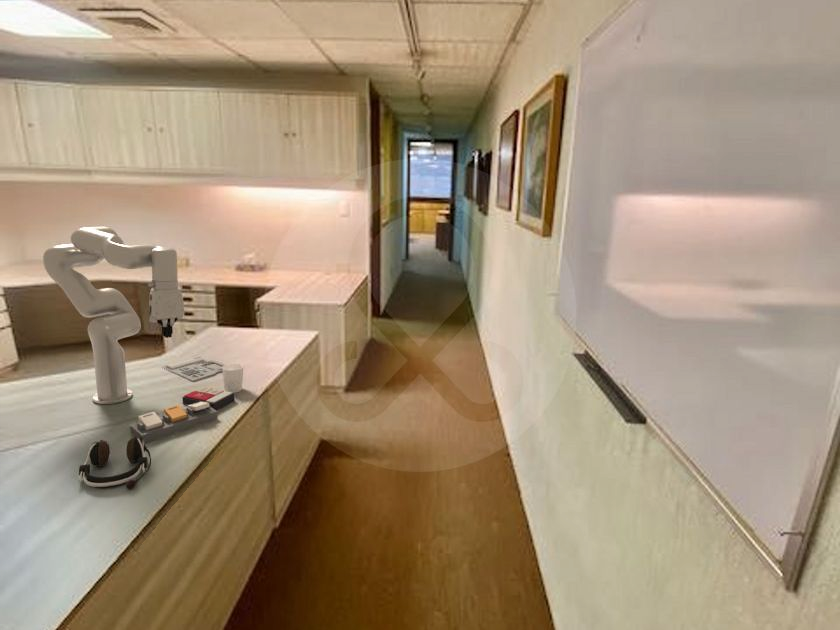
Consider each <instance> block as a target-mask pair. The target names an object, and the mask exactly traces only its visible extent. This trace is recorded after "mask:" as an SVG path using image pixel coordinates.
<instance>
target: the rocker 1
mask: <svg viewBox="0 0 840 630" xmlns="http://www.w3.org/2000/svg"><path fill="white" fill-rule="evenodd" d="M158 416H159V415H158V414H157V413H156V412H155V411H151V412H148V413H144V414H142V415H138V422H141V423H142V424H143V425H144V427H145V429H146V430H148V429H152V428H155V427H158V426H161V425H162V420H161V419H160V418H159V417H158Z"/></svg>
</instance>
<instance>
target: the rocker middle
mask: <svg viewBox="0 0 840 630" xmlns="http://www.w3.org/2000/svg"><path fill="white" fill-rule="evenodd" d="M183 409H184V408H182V407H181V406H180V404H176V405H172V406H169V407H166V408H163V413H164V414H166V415H167V416H169V419H170V420H171V421H172V422H174V421H177V420H180V419H183V418H187V414H186V413H185V411H184V410H183Z"/></svg>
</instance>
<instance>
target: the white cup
mask: <svg viewBox="0 0 840 630" xmlns="http://www.w3.org/2000/svg"><path fill="white" fill-rule="evenodd" d="M221 368H222V370H223V372H222V382H223V390H224V391H227V392H232V393H234V394H235V393H239V392H241V391H242V390H243V381H244V380H243V379H244V365H243V364H241V363H236V362H235V363H227V364H225V365H224V366H223V367H222V366H221Z"/></svg>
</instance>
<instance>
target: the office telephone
mask: <svg viewBox="0 0 840 630" xmlns="http://www.w3.org/2000/svg"><path fill="white" fill-rule="evenodd" d="M213 364H214V365H216V366H217V365H218V366H220V367H221V368H218V369H214V368H213V367H209V366H208V365H213ZM224 365H226V364H225V363H222V362H219V361H216V360H213V359H212V360H209V361H207V360H206V359H204V358H202V357H201V356H197V357H194V358H190V359H185V360H182V361H179V362H175V363H171V364H170V363H169V364H167V365H164V366H162V367H161V368H162V369H163V368H164V369H163V370H165V369H166V371H167V370H168V371H167V372H170V373H172V372H173V374H174V373H175V375H176V374H177V375H176V376H178V377H179V376H180V377H181V378H184V379H185V378H186V379H185V380H187V381H189V382H192V383H194V382H198V381H201V380H204V379H207V378H211V377H213V376H215V375H218V374H220V373H223V370H222V367H223V366H224Z"/></svg>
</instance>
